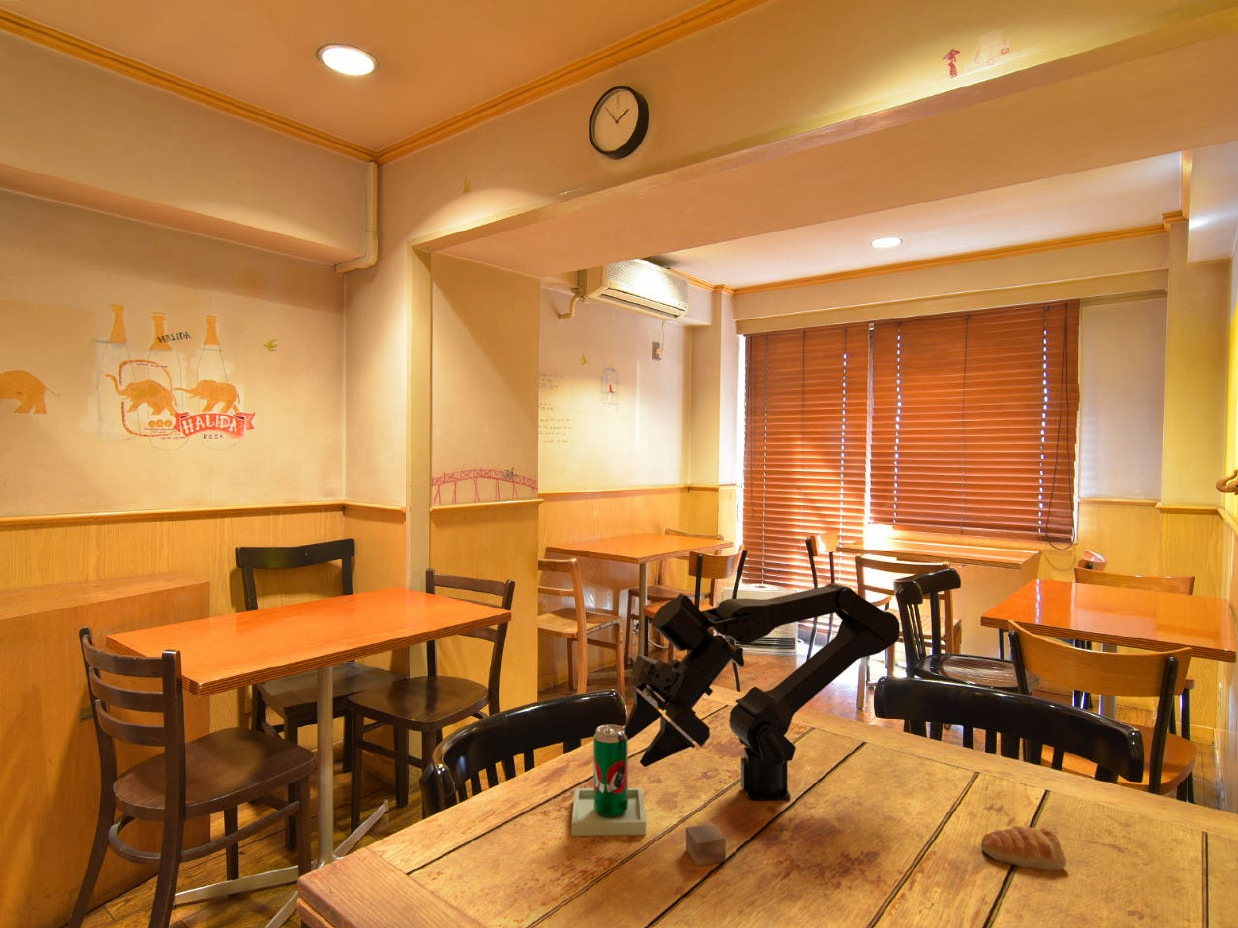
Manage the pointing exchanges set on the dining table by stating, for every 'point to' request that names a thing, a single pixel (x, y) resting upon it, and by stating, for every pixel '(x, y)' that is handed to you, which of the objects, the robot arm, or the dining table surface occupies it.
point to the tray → (596, 825)
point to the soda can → (610, 770)
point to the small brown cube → (705, 844)
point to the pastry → (1025, 847)
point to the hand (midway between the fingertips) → (631, 751)
